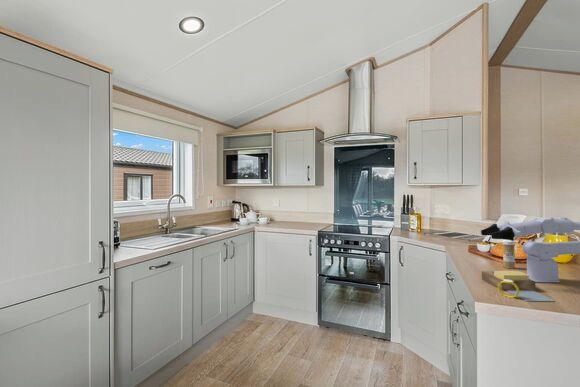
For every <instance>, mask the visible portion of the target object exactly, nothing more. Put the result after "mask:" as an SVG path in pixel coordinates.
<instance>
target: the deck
mask: <svg viewBox="0 0 580 387" xmlns="http://www.w3.org/2000/svg"><path fill="white" fill-rule="evenodd" d="M494 271H495V270H494ZM494 271H488V270H487V271H481V281H484V282H486V283H487V284H490V285H491V286H493V287H494V288H497V289H498V284H499V283H500V282H502V281H504V280H502V279H500V278H498V277H496V276H494ZM513 283H515V284H516V285H517V286H518V288H519V290H533V291H535V292H537V291H536V282H535V281H533V280H531V279H529V281H513ZM500 289H501V291H506V290H517V289H516V288H515V286H514V285H512V284H509V283H505V282H503V283H501V285H500Z"/></svg>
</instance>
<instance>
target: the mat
mask: <svg viewBox="0 0 580 387" xmlns="http://www.w3.org/2000/svg"><path fill="white" fill-rule="evenodd" d="M505 291H506V292H508V293H510V294H511V295H513V296H515V295H516V293H517V290H505ZM516 297H517V298H519V299H522V301H525V302H541V303H543V302H545V303H546V302H549V303H550V302H552V303H553V302H554V303H555V302H556V300H555V299H552V298H550V297H548V296H545V295H544V294H541V293H540V292H538V291H533V290H519V294H518V295H517V296H516Z"/></svg>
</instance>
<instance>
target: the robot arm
mask: <svg viewBox="0 0 580 387" xmlns="http://www.w3.org/2000/svg"><path fill="white" fill-rule="evenodd" d="M575 231H580V221H578V222H577V221H576V222H575V221H573V220H572V219H570V218H567V217H561V218H554V217H548V218H541V217H540V218H538V217H536V218H533V220H527V221H521V222H519V221H518V222H514V223H510V222H509V221H505V222H504V224H502V225H498V223H492V224H491V225H490V226H488V227H486V228H483V229H481V230H480V235H481V236H490V237H491V239H493V240H511V241H515V238H522V237H525V236H531V235H536V234H543V233H546V234H556V233H559V234H563V233H564V234H571V233H573V232H575ZM522 251H523V253H524V254H525V257H526V274H527V275H529V279H531V280H533V281H535V283H561V281H560V280H559V264H558V263H557V261H556V260H555V259H553V258H558V257H559V256H561V255H576V254H577V255H579V254H580V240H574V241H573V240H571V241H561V242H539V241H538V242H536V241H533V240H528V241H525V242H524V243H523V244H522Z"/></svg>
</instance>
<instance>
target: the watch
mask: <svg viewBox="0 0 580 387" xmlns="http://www.w3.org/2000/svg"><path fill="white" fill-rule="evenodd" d="M503 282H505V283H509V284H512V285H514V286H515V288H516V289H517V293H516V295H510V294H505V293H504V292H503V290H501V289H500V285H501V283H503ZM497 290H498V292H499V294H500V295H501V296H503V297H507V298H512V299H513V298H516V297H517V295H518V294H519V288H518V286H517V285H516V284H515V283H513V281H512V280H508V279H504V281H502V282H500V283H499V284H498V288H497Z"/></svg>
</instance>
